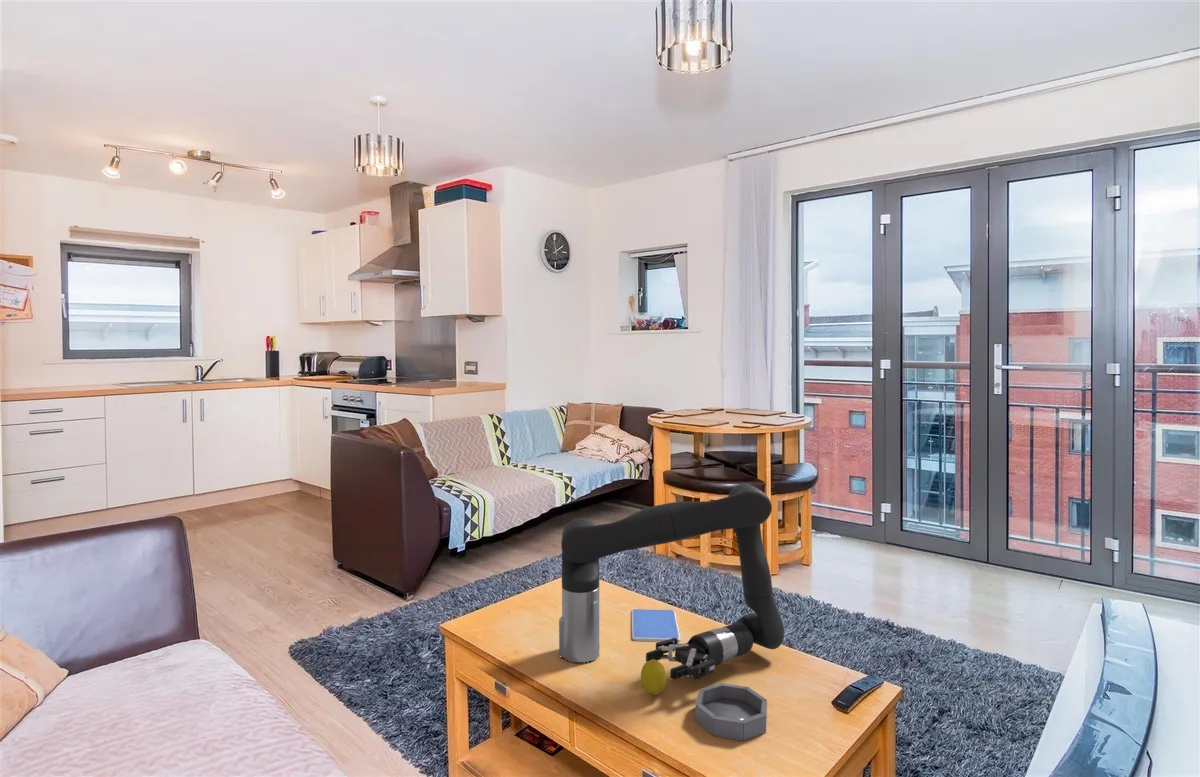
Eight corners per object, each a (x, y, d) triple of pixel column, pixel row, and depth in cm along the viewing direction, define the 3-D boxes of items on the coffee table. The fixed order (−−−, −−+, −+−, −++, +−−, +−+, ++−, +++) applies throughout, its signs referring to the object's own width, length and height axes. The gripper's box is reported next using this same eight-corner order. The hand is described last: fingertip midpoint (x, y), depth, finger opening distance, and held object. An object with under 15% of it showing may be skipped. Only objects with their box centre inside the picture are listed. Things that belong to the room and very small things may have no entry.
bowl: (692, 732, 122) (692, 714, 122) (701, 695, 136) (701, 679, 135) (765, 744, 118) (765, 726, 118) (767, 705, 132) (767, 689, 131)
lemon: (664, 703, 132) (665, 666, 132) (638, 700, 134) (639, 664, 133) (667, 690, 138) (667, 654, 137) (642, 687, 139) (642, 652, 139)
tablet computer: (631, 612, 181) (631, 608, 181) (675, 613, 181) (675, 608, 181) (632, 642, 162) (632, 637, 162) (680, 643, 161) (680, 638, 161)
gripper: (692, 620, 151) (639, 637, 142) (736, 643, 139) (680, 662, 130) (692, 651, 151) (638, 669, 142) (735, 676, 139) (680, 698, 130)
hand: (658, 666), depth 136 cm, fingers open, 8 cm apart
